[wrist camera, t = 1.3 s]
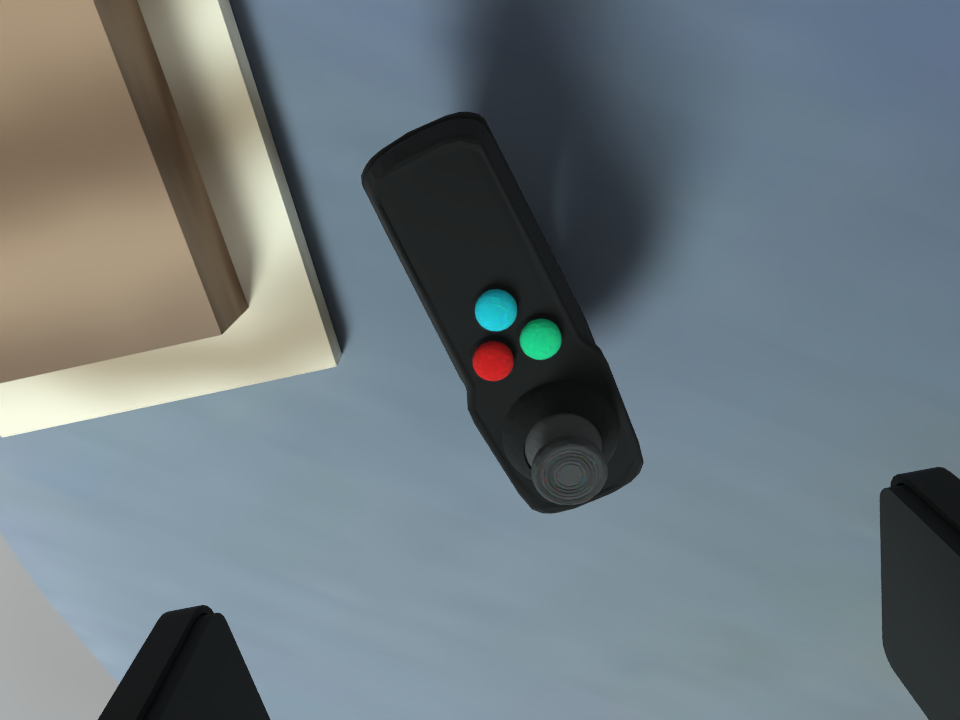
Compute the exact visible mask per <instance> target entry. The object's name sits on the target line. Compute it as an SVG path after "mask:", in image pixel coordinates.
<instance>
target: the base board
mask: <svg viewBox="0 0 960 720" xmlns="http://www.w3.org/2000/svg"><path fill="white" fill-rule="evenodd" d="M341 356H342V353H341V350H340V347H339V344H338V341H337V337H336V334H335V331H334V328H333V325H332V322H331V319H330V316H329V312H328V309H327V306H326V303H325V300H324V297H323V294H322V291H321V287H320V284H319V281H318V278H317V275H316V272H315V269H314V266H313V262H312V259H311V256H310V253H309V250H308V247H307V244H306V240H305V237H304V234H303V231H302V228H301V225H300V222H299V219H298V215H297V212H296V209H295V206H294V203H293V200H292V197H291V194H290V190H289V187H288V184H287V181H286V178H285V175H284V172H283V169H282V165H281V162H280V159H279V156H278V153H277V150H276V147H275V144H274V140H273V137H272V134H271V131H270V128H269V125H268V122H267V118H266V115H265V112H264V109H263V106H262V103H261V100H260V97H259V93H258V90H257V87H256V84H255V81H254V78H253V75H252V72H251V68H250V65H249V62H248V59H247V56H246V53H245V50H244V47H243V43H242V40H241V37H240V34H239V31H238V28H237V25H236V21H235V18H234V15H233V12H232V9H231V6H230V3H229V0H0V435H1V437H7V436H12V435H16V434H21V433H26V432H30V431H35V430H40V429H45V428H49V427H54V426H59V425H63V424H68V423H73V422H77V421H82V420H87V419H92V418H96V417H101V416H106V415H110V414H115V413H120V412H125V411H129V410H134V409H139V408H143V407H148V406H153V405H158V404H162V403H167V402H172V401H176V400H181V399H186V398H190V397H195V396H200V395H205V394H209V393H214V392H219V391H223V390H228V389H233V388H238V387H242V386H247V385H252V384H256V383H261V382H266V381H270V380H275V379H280V378H285V377H289V376H294V375H299V374H303V373H308V372H313V371H318V370H322V369H327V368H332V367H336V366H337V365H338V363H339V361H340V358H341Z"/></svg>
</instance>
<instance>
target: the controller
mask: <svg viewBox="0 0 960 720" xmlns="http://www.w3.org/2000/svg"><path fill="white" fill-rule="evenodd" d="M361 179H362V185H363V188H364V190H365V192H366V194H367V196H368V198H369V200H370V202H371V204H372V206H373V207H374V209H375V212H376V214H377V216H378V218H379V220H380V222H381V224H382V226H383V228H384V230H385V232H386V234H387V236H388V238H389V240H390V241H391V243H392V245H393V247H394V249H395V251H396V253H397V255H398V257H399V259H400V261H401V263H402V265H403V267H404V269H405V271H406V273H407V275H408V277H409V279H410V281H411V283H412V285H413V287H414V288H415V290H416V292H417V294H418V296H419V298H420V300H421V302H422V304H423V306H424V308H425V310H426V312H427V314H428V316H429V318H430V320H431V322H432V324H433V326H434V328H435V330H436V332H437V333H438V335H439V337H440V339H441V341H442V343H443V345H444V347H445V349H446V351H447V353H448V355H449V357H450V359H451V361H452V363H453V365H454V367H455V369H456V371H457V373H458V375H459V377H460V378H461V380H462V382H463V383H464V385H465V387H466V390H467V402H468V410H469V412H470V415H471V417H472V419H473V421H474V424H475V425H476V427H477V428H478V430H479V432H480V433H481V435H482V436H483V438H484V440H485V441H486V443H487V444H488V446H489V447H490V449H491V451H492V452H493V454H494V455H495V457H496V458H497V460H498V462H499V463H500V465H501V466H502V468H503V470H504V471H505V473H506V474H507V476H508V477H509V479H510V481H511V482H512V484H513V485H514V487H515V488H516V490H517V492H518V493H519V495H520V496H521V497H522V498H523V499H524V500H525V502H526V503H527V504H528V505H529V506H530V507H531V509H532V510H535V511H538V512H541V513H558V512H562V511H566V510H570V509H574V508H577V507H579V506H582V505H584V504H586V503H589V502H591V501H594V500H596V499H599V498H601V497H603V496H606V495H608V494H611V493H613V492H615V491H617V490H618V489H620V488H622V487H623V486H625V485H626V484H628V483H630V482H631V481H632V480H633V479H634V478H635V477H636V476H637V475H638V474H639V473H640V471H641V468H642V465H643V458H642V454H641V450H640V445H639V442H638V439H637V437H636V434H635V431H634V429H633V426H632V424H631V421H630V419H629V416H628V413H627V411H626V408H625V406H624V403H623V401H622V398H621V395H620V393H619V390H618V388H617V385H616V382H615V380H614V377H613V375H612V372H611V370H610V367H609V364H608V362H607V361H606V359H605V357H604V355H603V353H602V351H601V349H600V348H599V347H598V346H597V345H596V344H595V341H594V339H593V336H592V334H591V331H590V329H589V326H588V324H587V321H586V319H585V317H584V315H583V313H582V311H581V309H580V307H579V305H578V303H577V301H576V299H575V297H574V295H573V293H572V291H571V289H570V287H569V285H568V283H567V281H566V279H565V277H564V275H563V273H562V271H561V269H560V267H559V265H558V263H557V261H556V259H555V257H554V255H553V253H552V251H551V249H550V247H549V245H548V243H547V241H546V239H545V237H544V235H543V234H542V232H541V230H540V228H539V226H538V224H537V222H536V220H535V218H534V216H533V214H532V212H531V210H530V208H529V206H528V204H527V202H526V200H525V198H524V196H523V194H522V192H521V190H520V188H519V186H518V184H517V182H516V180H515V178H514V176H513V174H512V172H511V170H510V168H509V166H508V164H507V162H506V160H505V158H504V156H503V154H502V152H501V150H500V148H499V146H498V144H497V142H496V140H495V138H494V136H493V134H492V132H491V130H490V128H489V126H488V125H487V123H486V121H485V119H484V118H483V117H481V116H480V115H479V114H475V113H471V112H458V113H454V114H450V115H446V116H444V117H441V118H439V119H437V120H435V121H432V122H430V123H428V124H426V125H423V126H421V127H419V128H417V129H414V130H412V131H410V132H408V133H406V134H405V135H403V136H402V137H400V138H399V139H397V140H395V141H394V142H392V143H391V144H389V145H388V146H386V147H385V148H383V149H382V150H380V151H379V152H378V153H377V154H376V155H374V156H373V157H372V158H371V159H370V160H369V162H368V163H367V164H366V166H365V168H364V170H363V173H362V175H361Z"/></svg>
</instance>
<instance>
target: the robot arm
mask: <svg viewBox="0 0 960 720" xmlns="http://www.w3.org/2000/svg"><path fill="white" fill-rule="evenodd" d="M880 537H881V589H882V639H883V646H884V650H885V654H886V656H887V659H888V661H889V663H890V665H891V667H892V669H893V670H894V672H895V673H896V675H897V676H898V677H899V679H900V680H901V682H902V683H903V684H904V686H905V687H906V688H907V690H908V691H909V693H910V694H911V695H912V697H913V698H914V700H915V701H916V702H917V704H918V705H919V707H920V708H921V709H922V711H923V712H924V714H925V715H926V716H927V718H928V719H929V720H960V479H958V478H957V477H956V476H955V475H953V474H952V473H951V472H950V471H948V470H946V469H945V468H942V467H935V468H930V469H925V470H919V471H914V472H909V473H903V474H898V475H896V476H894V477H893V479H892V481H891V486H890V487H889V488H884V489H883V490H882V491H881V493H880ZM98 720H270V718H269V716H268V713H267V711H266V709H265V707H264V704H263V702H262V700H261V698H260V695H259V693H258V691H257V689H256V686H255V684H254V682H253V680H252V677H251V675H250V673H249V671H248V668H247V666H246V664H245V662H244V659H243V657H242V655H241V653H240V650H239V648H238V646H237V644H236V641H235V639H234V637H233V635H232V632H231V630H230V628H229V626H228V623H227V621H226V619H225V618H224V616H223V615H222V614H221V613H213V611H212V609H211V608H209V607H208V606H205V605H201V606H195V607H190V608H185V609H179V610H174V611H169V612H166V613H164V614H163V615H162V616H161V617H160V618H159V620H158V621H157V623H156V624H155V626H154V628H153V629H152V631H151V633H150V634H149V636H148V638H147V639H146V641H145V643H144V644H143V646H142V648H141V649H140V651H139V653H138V654H137V656H136V658H135V659H134V661H133V662H132V664H131V666H130V667H129V669H128V671H127V672H126V674H125V676H124V677H123V679H122V681H121V682H120V684H119V686H118V687H117V689H116V691H115V692H114V694H113V696H112V697H111V699H110V700H109V702H108V704H107V706H106V707H105V709H104V710H103V712H102V714H101V715H100V717H99V719H98Z"/></svg>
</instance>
